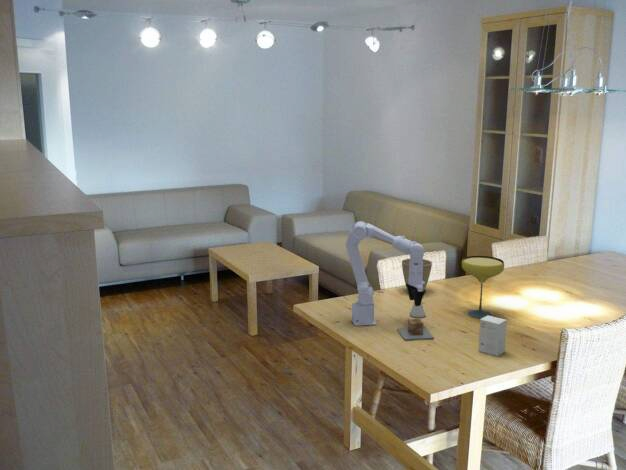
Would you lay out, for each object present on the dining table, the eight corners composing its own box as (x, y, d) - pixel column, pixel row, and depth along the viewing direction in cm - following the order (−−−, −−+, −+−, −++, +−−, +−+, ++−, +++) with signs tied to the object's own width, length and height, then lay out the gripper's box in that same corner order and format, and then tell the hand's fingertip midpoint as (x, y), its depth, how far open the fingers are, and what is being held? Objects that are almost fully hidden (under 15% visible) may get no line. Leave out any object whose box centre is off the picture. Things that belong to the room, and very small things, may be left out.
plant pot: (433, 297, 303) (434, 265, 300) (402, 297, 304) (403, 265, 300) (428, 288, 318) (429, 258, 314) (399, 288, 318) (400, 258, 315)
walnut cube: (411, 335, 253) (411, 323, 252) (407, 330, 258) (408, 319, 257) (423, 334, 254) (423, 323, 253) (419, 330, 259) (419, 318, 258)
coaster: (404, 340, 250) (404, 339, 250) (396, 330, 261) (396, 328, 261) (433, 339, 251) (433, 337, 251) (424, 328, 263) (424, 326, 263)
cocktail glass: (500, 309, 286) (504, 257, 280) (501, 323, 269) (504, 267, 263) (460, 306, 290) (462, 254, 285) (458, 319, 273) (461, 264, 268)
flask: (413, 319, 274) (414, 297, 272) (406, 313, 281) (407, 292, 279) (428, 317, 276) (429, 296, 274) (421, 312, 283) (422, 291, 281)
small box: (505, 351, 239) (507, 319, 236) (497, 356, 234) (499, 324, 231) (485, 346, 244) (487, 314, 241) (477, 351, 240) (479, 318, 237)
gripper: (430, 276, 256) (429, 307, 259) (419, 267, 270) (418, 297, 273) (413, 277, 255) (412, 308, 258) (404, 267, 269) (403, 297, 272)
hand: (414, 302), depth 265 cm, fingers open, 7 cm apart
